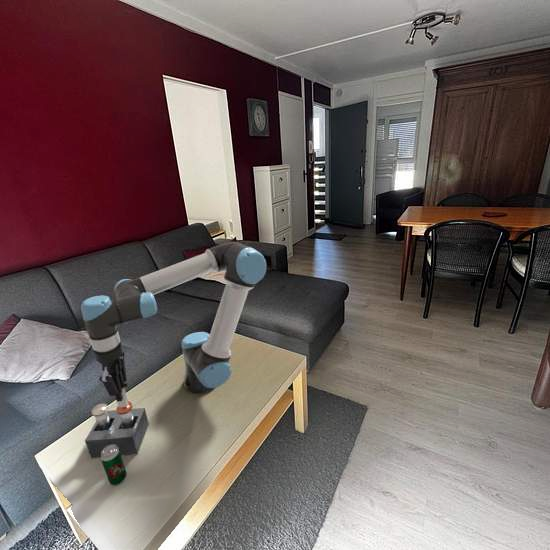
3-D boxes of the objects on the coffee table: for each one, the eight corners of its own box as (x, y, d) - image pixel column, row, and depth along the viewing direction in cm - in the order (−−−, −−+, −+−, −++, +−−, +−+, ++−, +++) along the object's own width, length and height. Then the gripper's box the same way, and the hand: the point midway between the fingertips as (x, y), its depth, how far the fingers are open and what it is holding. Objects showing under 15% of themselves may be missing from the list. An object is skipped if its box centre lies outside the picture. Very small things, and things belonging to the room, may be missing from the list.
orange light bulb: (138, 418, 106) (133, 401, 103) (133, 429, 101) (128, 411, 98) (124, 419, 105) (119, 402, 102) (119, 430, 101) (114, 412, 98)
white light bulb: (114, 420, 105) (109, 402, 102) (109, 431, 101) (103, 413, 98) (101, 421, 105) (95, 403, 102) (94, 432, 101) (88, 414, 98)
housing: (148, 424, 112) (144, 407, 109) (137, 454, 101) (132, 436, 98) (107, 427, 111) (101, 411, 108) (91, 458, 100) (84, 440, 97)
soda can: (113, 471, 95) (104, 443, 91) (129, 469, 96) (121, 442, 91) (106, 487, 91) (96, 459, 86) (123, 485, 91) (114, 457, 87)
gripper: (103, 334, 97) (119, 391, 106) (83, 359, 85) (103, 422, 94) (127, 332, 98) (141, 390, 106) (110, 358, 85) (127, 420, 94)
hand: (123, 405), depth 100 cm, fingers closed
